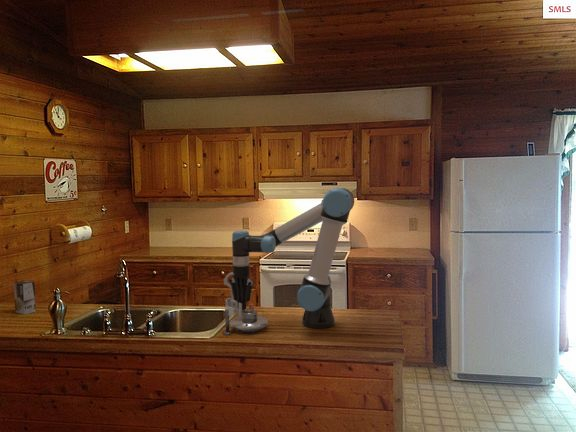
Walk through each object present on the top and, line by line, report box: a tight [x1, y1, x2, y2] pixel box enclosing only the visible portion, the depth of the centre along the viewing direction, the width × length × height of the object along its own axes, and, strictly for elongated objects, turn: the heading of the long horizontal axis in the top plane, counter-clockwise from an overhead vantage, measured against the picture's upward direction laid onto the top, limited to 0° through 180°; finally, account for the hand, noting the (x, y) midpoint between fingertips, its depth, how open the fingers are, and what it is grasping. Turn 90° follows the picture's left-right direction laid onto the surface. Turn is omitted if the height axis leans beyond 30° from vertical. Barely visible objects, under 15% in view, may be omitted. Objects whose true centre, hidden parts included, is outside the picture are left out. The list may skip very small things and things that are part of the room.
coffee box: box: [13, 280, 37, 315], centre depth 249 cm, size 9×6×16 cm
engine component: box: [223, 271, 239, 315], centre depth 244 cm, size 11×20×10 cm
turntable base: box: [235, 328, 263, 335], centre depth 213 cm, size 12×12×2 cm
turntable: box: [229, 303, 269, 330], centre depth 213 cm, size 17×17×8 cm
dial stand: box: [222, 306, 235, 336], centre depth 207 cm, size 4×4×12 cm
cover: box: [242, 308, 258, 323], centre depth 213 cm, size 7×7×5 cm
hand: (242, 316), depth 215 cm, fingers closed
